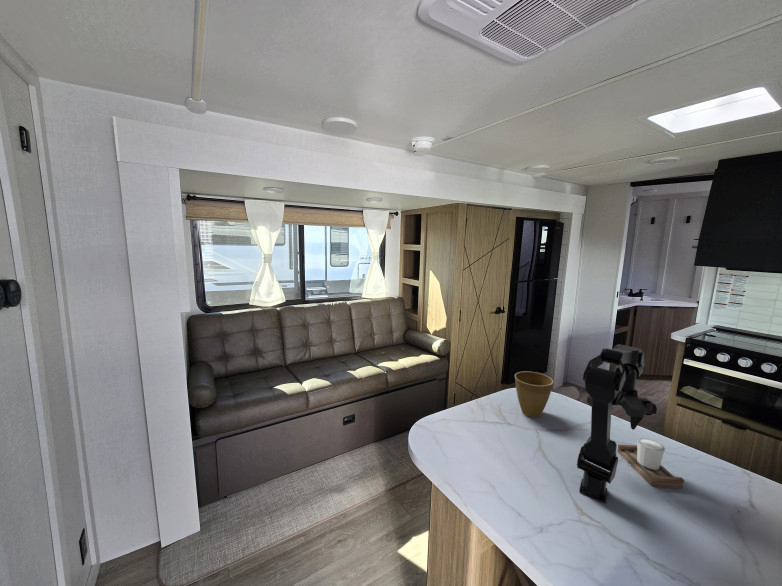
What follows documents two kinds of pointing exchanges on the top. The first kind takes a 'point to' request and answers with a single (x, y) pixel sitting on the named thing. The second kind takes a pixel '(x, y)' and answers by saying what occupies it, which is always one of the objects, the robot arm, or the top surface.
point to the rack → (650, 475)
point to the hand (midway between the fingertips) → (617, 428)
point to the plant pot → (533, 392)
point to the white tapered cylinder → (649, 453)
